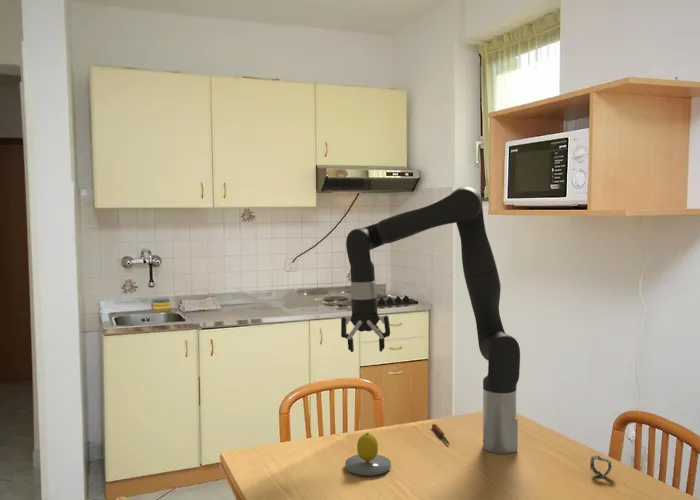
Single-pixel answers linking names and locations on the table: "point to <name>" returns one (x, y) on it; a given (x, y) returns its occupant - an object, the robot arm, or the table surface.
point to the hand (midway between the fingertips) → (366, 351)
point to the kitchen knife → (439, 432)
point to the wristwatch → (592, 465)
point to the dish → (368, 465)
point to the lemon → (367, 447)
